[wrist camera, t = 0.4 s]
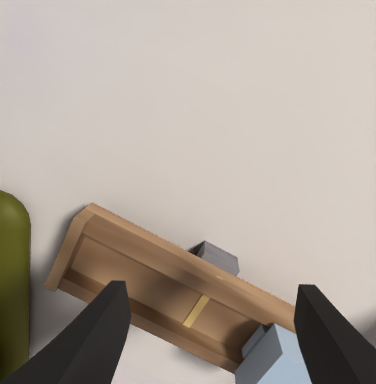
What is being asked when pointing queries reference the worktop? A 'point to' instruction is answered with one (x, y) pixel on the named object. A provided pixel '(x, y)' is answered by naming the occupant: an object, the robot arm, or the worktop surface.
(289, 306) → the wooden tray
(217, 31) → the worktop surface
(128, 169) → the worktop surface
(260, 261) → the worktop surface
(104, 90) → the worktop surface
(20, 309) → the spaceship
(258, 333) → the block
